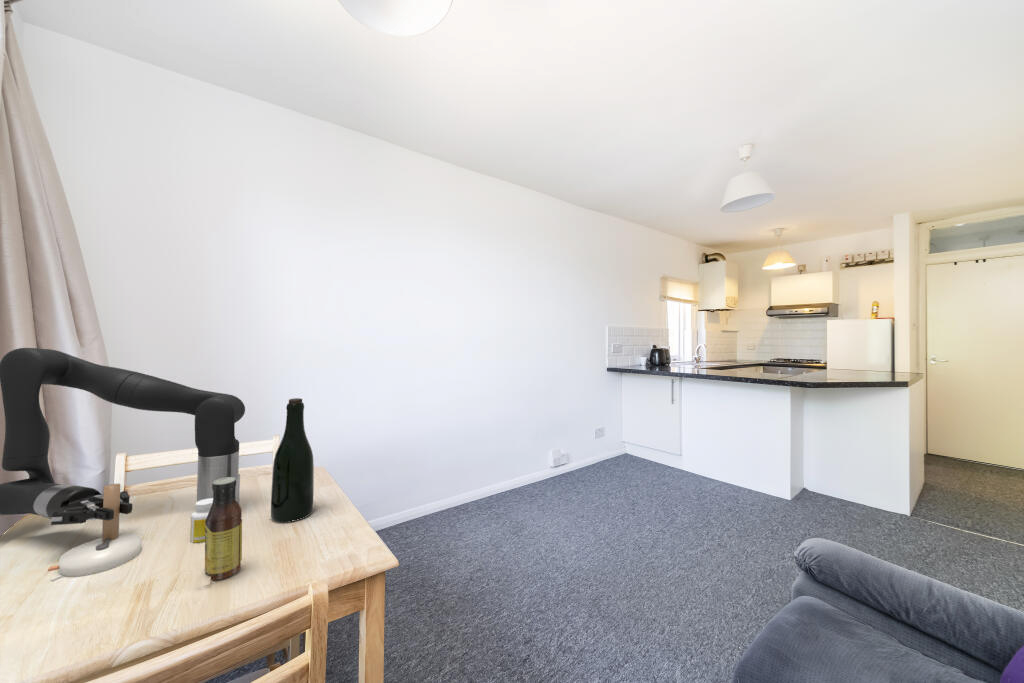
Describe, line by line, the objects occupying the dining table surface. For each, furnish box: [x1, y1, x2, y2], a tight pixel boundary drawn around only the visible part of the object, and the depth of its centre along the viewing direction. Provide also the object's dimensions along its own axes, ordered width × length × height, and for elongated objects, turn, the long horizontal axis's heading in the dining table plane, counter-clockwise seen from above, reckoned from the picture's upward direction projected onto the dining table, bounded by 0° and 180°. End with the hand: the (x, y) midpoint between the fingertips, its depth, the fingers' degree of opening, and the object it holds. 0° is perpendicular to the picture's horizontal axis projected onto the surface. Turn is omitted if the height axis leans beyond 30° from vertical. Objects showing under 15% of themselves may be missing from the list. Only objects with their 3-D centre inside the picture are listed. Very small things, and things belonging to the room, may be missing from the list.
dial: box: [58, 483, 142, 578], centre depth 82 cm, size 12×12×14 cm
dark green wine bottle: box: [270, 397, 315, 523], centre depth 107 cm, size 10×10×33 cm
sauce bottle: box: [204, 477, 243, 581], centre depth 80 cm, size 7×6×20 cm
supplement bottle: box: [189, 498, 213, 544], centre depth 92 cm, size 5×5×10 cm
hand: (120, 511), depth 85 cm, fingers closed on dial, 2 cm apart
